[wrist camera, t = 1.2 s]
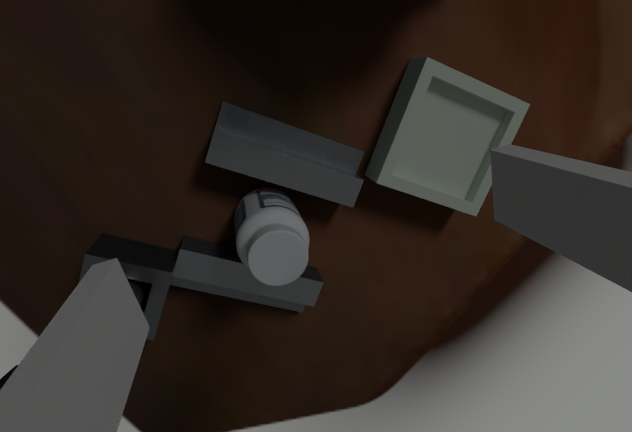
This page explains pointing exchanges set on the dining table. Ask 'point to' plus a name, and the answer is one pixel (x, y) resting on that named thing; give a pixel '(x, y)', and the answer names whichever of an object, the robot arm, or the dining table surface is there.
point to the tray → (444, 136)
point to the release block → (138, 270)
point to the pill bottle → (271, 236)
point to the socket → (279, 168)
